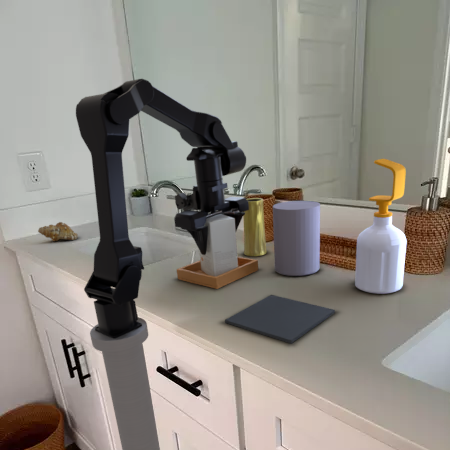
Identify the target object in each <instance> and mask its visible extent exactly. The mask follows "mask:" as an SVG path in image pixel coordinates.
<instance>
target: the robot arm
mask: <svg viewBox="0 0 450 450" xmlns="http://www.w3.org/2000/svg"><path fill="white" fill-rule="evenodd" d="M141 112H143V113H144V114H146V115H148V116H149V117H152V118H154V119H156V120H157V121H159V122H161V123H163V124H165V125H166V126H168V127H170V128H171V129H174V130H175V131H177V132H178V133H179V136H180V138H181V140H183V141H184V142H185V143H187V144H188V145H189V146H190V147H192V148H191V151H190V152H189V154H188V155H187V156H186V159H185V160H186V161H190V162H192V161H193V163H194V164H193V165H194V172H195V173H194V174H195V180H196V185H193V186H192V193H191V194H186V193H185V192H180V193H178V194H176V195H175V196H174V198H175V199H174V202H175V206H176V208H177V210H182V211H180V212H177V213H175V216H174V217H173V220H174V226H175V228H180V229H181V230H185V231H187V232H188V233H189V235H190V236H191V237H192V239H193V241H194V243H195V244H196V247H197V248H198V250H199V253H200V252H201V254H202V255H206V251H207V236H208V226H204V225H205V223H206V219H207V218H210V217H213V216H216V215H219V214H223V215H226V216H229V217H232V218H235V230H236V232H238V231H237V230H238V228H239V227H240V224H241V221H242V220H243V215H245V212H244V211H247V210H249V204H248V201H247V200H246V199H247V198H246V197H240V196H237V197H236V196H228V197H227V198H226V197H225V189H228V187H229V186H228V182H224V179H223V177H226V176H229V175H233V174H235V173H240V172H242V171H243V170H244V169H245V167H246V165H247V164H246V163H247V156H246V154H245V152H244V150H243V149H242V148H241V147H239V144H238V141H237V140H235V141H232V140H231V138H230V136H229V134H228V132H227V131H226V128H225V127H224V126H223V122H222V120H221V118H219V116H216V115H213V114H210V113H207V112H201V111H196V110H193V109H191V108H189V107H187V106H186V105H184V104H183V103H181V102H179V101H178V100H176V99H175V98H173V97H172V96H170V95H168V94H166V93H165V92H164V91H161V90H160V89H158V88H157V87H155V86H154V85H152V83H151V82H150V81H149V80H147V79H144V78H138V79H132V80H127V81H124V82H123V83H122V84H120V85H119V86H117V87H114V88H113V89H110V90H108V91H107V92H103V93H101V94H100V93H99V94H95V95H89V96H85V97H82V98H80V101H78V103H77V104H76V106H75V118H76V122H77V126H78V130H79V133H80V134H79V135H80V138H81V139H82V141H83V142H84V143H85V146H86V147H87V149H88V150H89V153H90V157H91V164H92V174H93V183H94V193H95V203H96V211H97V221H98V230H99V241H98V244H97V246H96V249H95V252H94V253H93V271H92V273H91V275H90V276H89V278H88V280H87V283H86V284H85V286H84V288H83V291H84V292H85V294H86V296H87V297H88V299H94V301H93V305H94V311H95V315H96V321H97V324H98V325H99V326H97V327H95V331H97V332H100V333H102V334H104V335H106V336H108V337H111V338H113V339H114V338H118V337H120V336H122V335H124V334H126V333H128V332H130V331H133V330H135V329H137V328H139V327H141V326H142V323H140V322H137V320H138V317H139V316H138V311H137V305H136V300H137V299H138V298H139V292H140V291H139V290H140V283H141V280H142V276H143V275H142V274H143V273H142V272H143V270H144V271H145V267H144V263H143V249H142V247H141V246H137V245H136V246H135V245H134V244H133V243H132V241H131V240H130V236H129V235H130V234H129V225H128V212H127V202H126V201H127V200H126V190H125V189H126V188H125V177H124V166H123V165H124V164H123V151H124V148H125V146H126V143H127V141H128V138H129V136H130V120H131V119H132V118H134V117H136V116H137V115H138V114H140V113H141Z"/></svg>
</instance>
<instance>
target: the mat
mask: <svg viewBox="0 0 450 450" xmlns="http://www.w3.org/2000/svg"><path fill="white" fill-rule="evenodd" d="M335 312H336V310H335V309H332V308H329V307H325V306H321V305H317V304H312V303H308V302H303V301H300V300H295V299H291V298H287V297H284V296H283V297H282V296H279V295H274V294H270V295H268V296H266V297H264V298H263V299H261V300H259V301H257V302H256V303H253V304H252V305H250V306H248V307H246V308H244V309H242V310H240V311H238V312H236V313H235V314H233V315H231V316H230V317H228V318H226V319H224V324H228V325H231V326H235V327H237V328H240V329H244V330H246V331H250V332H253V333H256V334H259V335H263V336H265V337H269V338H272V339H275V340H278V341H281V342H285V343H287V344H293V343H294V342H296V341H297V340H298V339H300V338H302V337H303V336H304V335H305V334H307V333H308V332H310V331H312V330H313V329H314V328H316V327H317V326H318V325H320V324H321V323H322V322H324V321H325V320H327V319H328V318H330V317H332V315H334V314H335Z"/></svg>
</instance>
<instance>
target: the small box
mask: <svg viewBox="0 0 450 450" xmlns="http://www.w3.org/2000/svg"><path fill="white" fill-rule="evenodd" d="M204 226H208V236H207V251H206V255H202V254H201V252H200V251H199V260H201V270H202V271H203V272H205V273H206V274H208V275H211V276H215V277H216V276H219V275H221V274H223V273H226V272H228V271H230V270H233V269H235V268H237V267H238V259H237V256H238V245H237V231H236V230H235V218H232V217H229V216H226V215H223V214H219V215H216V216H213V217H210V218H207V219H206V223H205V225H204Z"/></svg>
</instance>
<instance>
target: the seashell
mask: <svg viewBox="0 0 450 450" xmlns="http://www.w3.org/2000/svg"><path fill="white" fill-rule="evenodd" d="M37 233H39V234H40V235H42V236H44V237H45V238H48V239H51V240H52V242H59V241H60V240H67V241H68V240H69V241H74V240H77V239H78V237H79V235H78V233H77V232H74V230H73V229H72V228H71V227H70V226H69V225H68V224H67V223H65V222H62V221H59V222H57V223H56V224H55V225H54V224H49V225H44V226H41V227H40V226H39V228H38V230H37Z"/></svg>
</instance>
